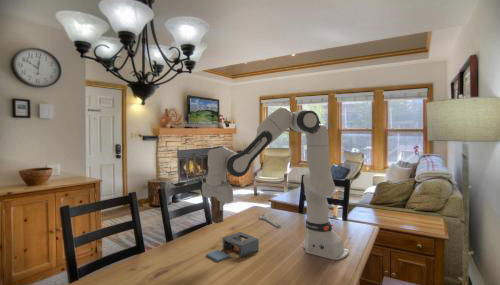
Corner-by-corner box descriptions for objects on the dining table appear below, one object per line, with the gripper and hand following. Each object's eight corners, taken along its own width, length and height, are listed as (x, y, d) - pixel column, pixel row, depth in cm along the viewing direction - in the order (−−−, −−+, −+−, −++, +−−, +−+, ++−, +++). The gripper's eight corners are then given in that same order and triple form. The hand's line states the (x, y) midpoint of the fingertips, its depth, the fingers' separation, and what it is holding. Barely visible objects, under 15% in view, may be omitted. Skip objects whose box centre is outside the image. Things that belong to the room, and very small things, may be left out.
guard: (258, 250, 143) (258, 238, 143) (241, 258, 135) (241, 245, 135) (240, 242, 153) (239, 231, 153) (222, 249, 145) (222, 237, 145)
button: (247, 249, 144) (247, 244, 144) (240, 252, 141) (240, 247, 140) (240, 246, 147) (240, 241, 147) (233, 249, 144) (233, 244, 144)
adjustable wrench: (281, 228, 177) (281, 225, 177) (272, 229, 175) (272, 227, 175) (265, 216, 200) (265, 214, 200) (257, 217, 198) (257, 215, 198)
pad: (229, 257, 136) (229, 255, 136) (217, 262, 131) (217, 259, 131) (217, 251, 142) (217, 249, 142) (206, 255, 137) (206, 253, 137)
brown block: (223, 221, 136) (223, 196, 135) (216, 223, 133) (216, 198, 132) (217, 219, 138) (217, 195, 138) (211, 221, 136) (211, 196, 135)
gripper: (236, 182, 130) (236, 212, 130) (209, 176, 144) (210, 203, 145) (225, 183, 125) (225, 214, 126) (199, 178, 140) (199, 206, 140)
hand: (217, 208), depth 135 cm, fingers closed on brown block, 4 cm apart
